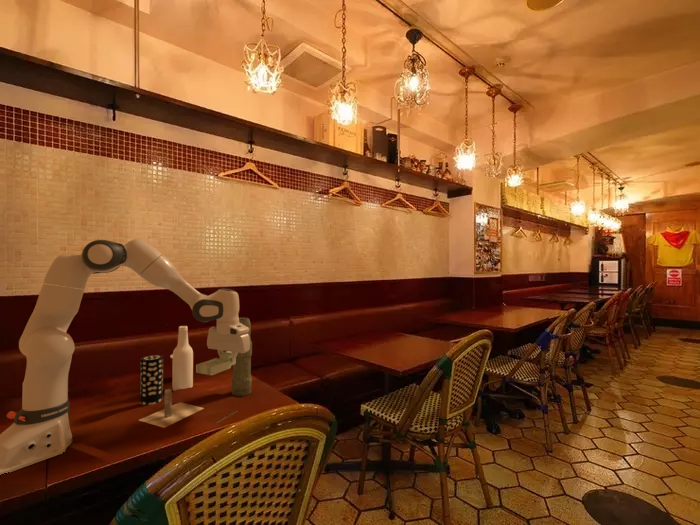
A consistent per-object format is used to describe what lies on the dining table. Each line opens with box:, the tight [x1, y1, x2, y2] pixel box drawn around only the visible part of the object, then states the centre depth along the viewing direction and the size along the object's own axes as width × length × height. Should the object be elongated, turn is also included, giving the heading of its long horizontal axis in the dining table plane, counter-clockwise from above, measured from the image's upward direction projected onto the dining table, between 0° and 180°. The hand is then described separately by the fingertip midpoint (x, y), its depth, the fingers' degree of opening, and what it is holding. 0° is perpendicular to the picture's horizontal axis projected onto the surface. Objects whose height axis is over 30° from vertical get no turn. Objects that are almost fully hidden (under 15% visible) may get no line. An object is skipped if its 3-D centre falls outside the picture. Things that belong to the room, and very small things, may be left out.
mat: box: [212, 409, 238, 425], centre depth 135 cm, size 12×10×1 cm
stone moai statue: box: [231, 316, 253, 398], centre depth 158 cm, size 9×12×35 cm
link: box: [195, 351, 236, 376], centre depth 135 cm, size 15×8×5 cm, turn 156°
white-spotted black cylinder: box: [139, 354, 164, 406], centre depth 144 cm, size 8×8×20 cm
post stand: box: [138, 388, 205, 429], centre depth 132 cm, size 18×14×12 cm
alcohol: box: [171, 325, 194, 392], centre depth 162 cm, size 9×9×30 cm
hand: (227, 361), depth 140 cm, fingers closed on link, 4 cm apart
